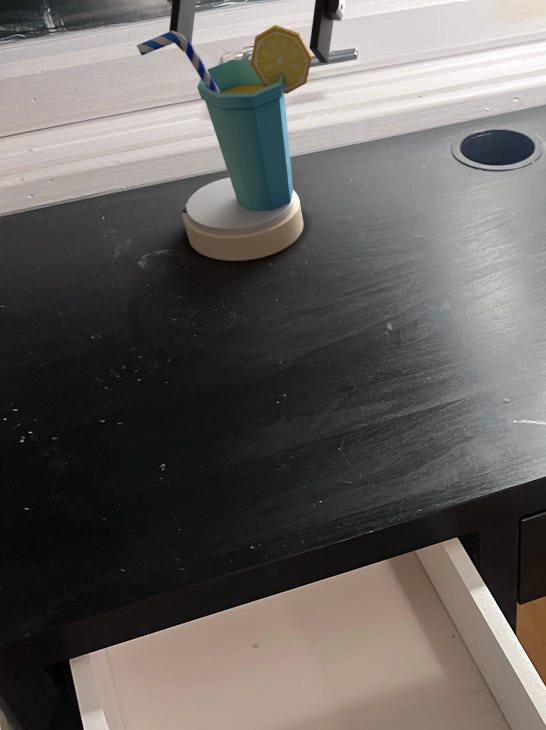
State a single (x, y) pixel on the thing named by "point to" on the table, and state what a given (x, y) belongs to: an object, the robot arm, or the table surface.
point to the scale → (238, 224)
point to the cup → (251, 111)
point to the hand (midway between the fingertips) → (248, 50)
